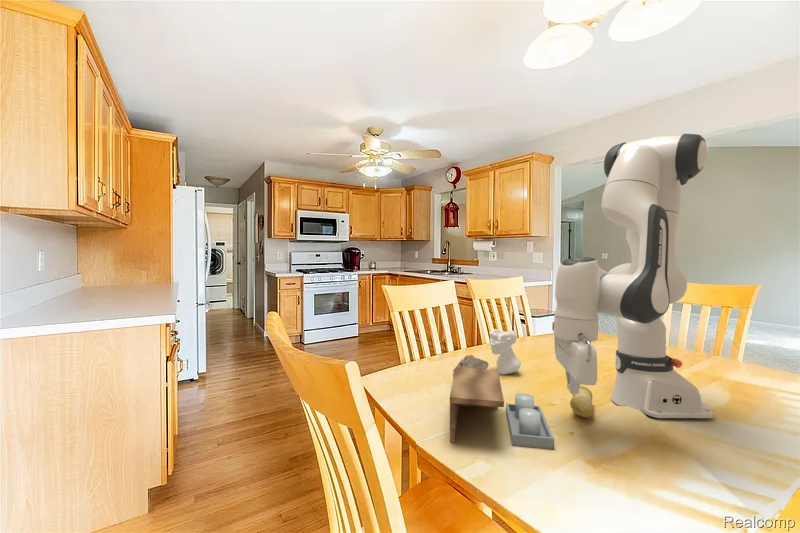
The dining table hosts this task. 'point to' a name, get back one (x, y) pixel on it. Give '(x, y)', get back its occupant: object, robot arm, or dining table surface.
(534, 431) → the pillar candle
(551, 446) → the tray
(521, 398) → the pale grey cylinder
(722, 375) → the dining table surface
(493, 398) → the counter
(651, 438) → the dining table surface
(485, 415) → the dining table surface
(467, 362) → the rock
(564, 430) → the dining table surface
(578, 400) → the potato
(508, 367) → the small white figurine
